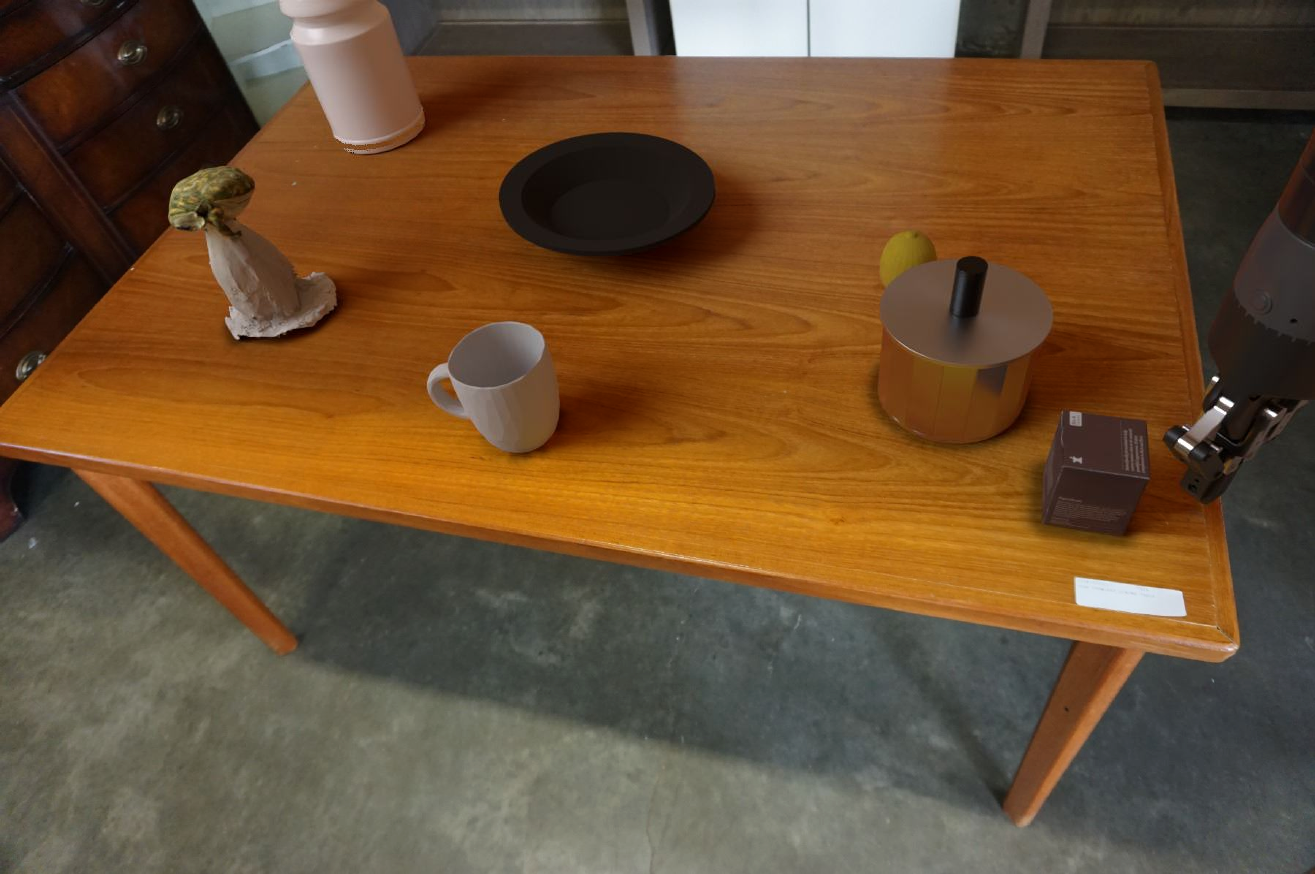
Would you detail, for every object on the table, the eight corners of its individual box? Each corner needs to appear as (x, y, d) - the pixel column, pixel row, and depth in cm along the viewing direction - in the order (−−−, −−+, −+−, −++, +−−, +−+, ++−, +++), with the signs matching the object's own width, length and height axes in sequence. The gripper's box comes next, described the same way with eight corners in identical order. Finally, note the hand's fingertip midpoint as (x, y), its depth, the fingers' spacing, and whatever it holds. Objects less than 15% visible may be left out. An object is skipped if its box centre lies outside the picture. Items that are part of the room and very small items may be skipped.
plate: (763, 217, 100) (761, 175, 96) (618, 322, 90) (609, 281, 86) (608, 151, 115) (600, 112, 111) (469, 235, 105) (456, 196, 101)
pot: (1054, 401, 75) (1080, 320, 68) (944, 466, 72) (960, 388, 65) (952, 327, 83) (966, 248, 76) (849, 383, 80) (854, 305, 73)
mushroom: (326, 338, 95) (248, 197, 81) (217, 354, 95) (121, 216, 82) (344, 275, 103) (276, 137, 89) (244, 290, 103) (161, 155, 90)
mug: (579, 398, 83) (557, 321, 76) (556, 467, 77) (529, 391, 70) (461, 393, 86) (429, 318, 78) (430, 459, 80) (392, 385, 73)
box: (1123, 539, 65) (1152, 480, 59) (1039, 525, 67) (1060, 466, 61) (1121, 479, 68) (1148, 419, 63) (1042, 467, 70) (1061, 407, 65)
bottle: (319, 149, 126) (224, -53, 106) (376, 105, 134) (299, -91, 114) (390, 161, 121) (305, -50, 100) (445, 115, 129) (377, -90, 108)
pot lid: (1088, 326, 68) (1106, 271, 64) (958, 400, 65) (969, 346, 61) (965, 249, 77) (974, 196, 73) (845, 310, 73) (848, 258, 69)
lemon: (937, 311, 85) (947, 245, 79) (881, 316, 85) (887, 251, 80) (926, 277, 89) (935, 212, 83) (873, 282, 89) (878, 218, 83)
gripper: (1305, 387, 40) (1181, 578, 53) (1472, 275, 43) (1317, 481, 56) (1167, 307, 44) (1084, 501, 57) (1327, 212, 48) (1215, 415, 61)
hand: (1200, 491), depth 57 cm, fingers closed
